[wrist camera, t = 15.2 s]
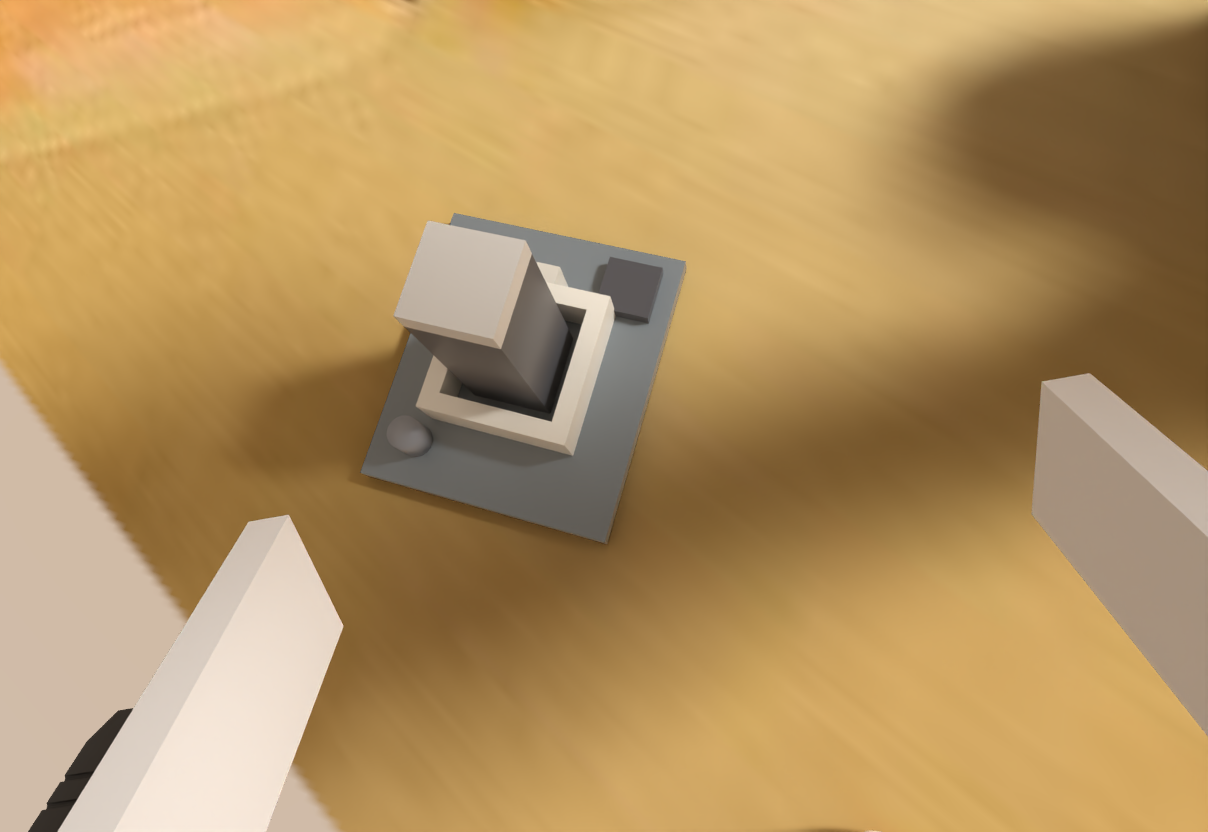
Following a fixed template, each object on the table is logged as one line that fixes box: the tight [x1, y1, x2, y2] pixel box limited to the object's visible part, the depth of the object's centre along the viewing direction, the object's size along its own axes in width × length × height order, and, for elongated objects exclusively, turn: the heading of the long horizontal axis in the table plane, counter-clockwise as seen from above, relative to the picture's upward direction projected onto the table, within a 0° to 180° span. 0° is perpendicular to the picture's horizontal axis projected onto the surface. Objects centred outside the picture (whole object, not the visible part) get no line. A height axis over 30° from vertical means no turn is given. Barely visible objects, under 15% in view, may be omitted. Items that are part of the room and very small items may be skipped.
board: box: [360, 213, 686, 544], centre depth 43 cm, size 16×14×4 cm
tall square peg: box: [394, 221, 573, 414], centre depth 38 cm, size 4×4×12 cm
